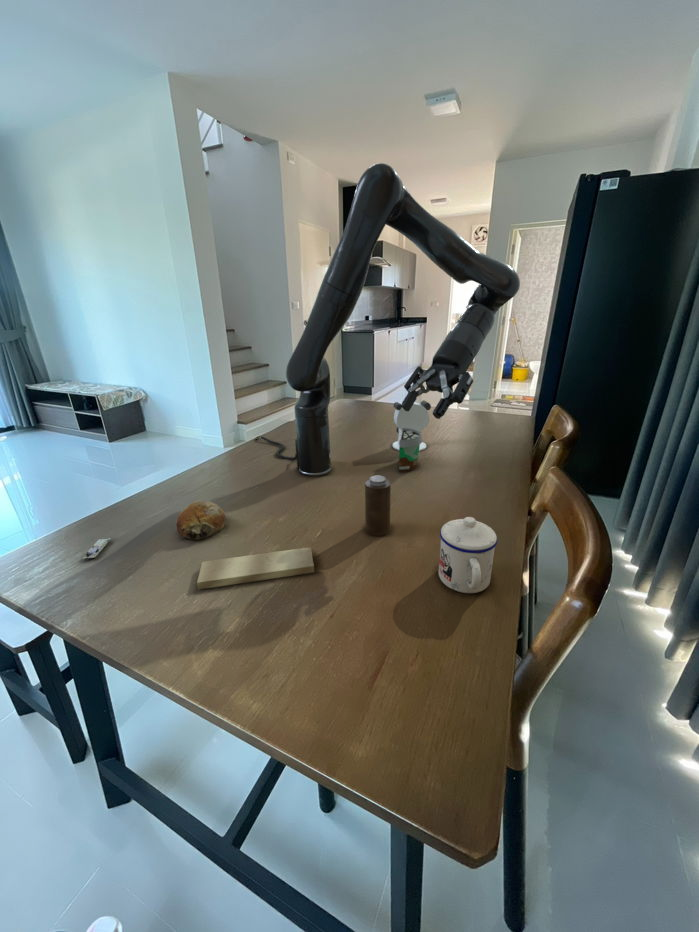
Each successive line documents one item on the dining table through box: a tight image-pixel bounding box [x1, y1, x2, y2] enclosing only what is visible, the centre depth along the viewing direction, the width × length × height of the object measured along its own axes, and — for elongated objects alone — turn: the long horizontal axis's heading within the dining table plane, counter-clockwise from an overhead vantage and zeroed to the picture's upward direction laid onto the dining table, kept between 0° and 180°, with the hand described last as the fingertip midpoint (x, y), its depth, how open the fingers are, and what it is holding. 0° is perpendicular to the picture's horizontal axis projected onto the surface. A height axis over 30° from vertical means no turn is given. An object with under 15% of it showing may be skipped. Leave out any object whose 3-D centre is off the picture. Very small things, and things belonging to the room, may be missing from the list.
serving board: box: [196, 546, 315, 590], centre depth 70 cm, size 20×6×2 cm, turn 101°
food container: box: [398, 428, 423, 473], centre depth 112 cm, size 12×6×10 cm, turn 168°
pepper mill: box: [364, 474, 392, 537], centre depth 79 cm, size 5×5×12 cm
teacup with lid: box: [438, 516, 498, 594], centre depth 63 cm, size 12×9×12 cm
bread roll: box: [176, 499, 226, 541], centre depth 83 cm, size 10×10×8 cm
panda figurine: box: [392, 400, 432, 452], centre depth 127 cm, size 12×11×15 cm
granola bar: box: [82, 537, 111, 560], centre depth 77 cm, size 7×2×1 cm, turn 6°
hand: (419, 412), depth 79 cm, fingers open, 8 cm apart
